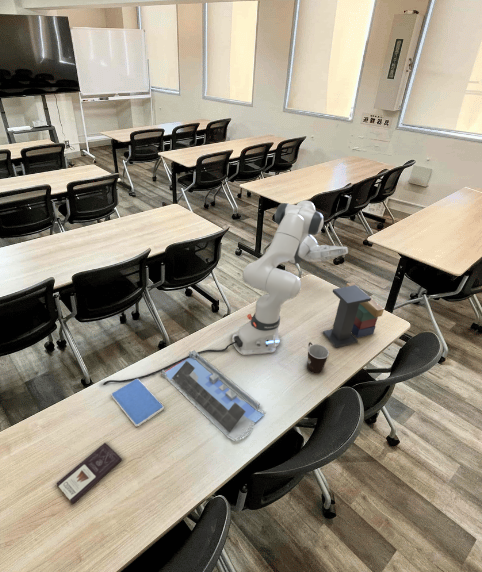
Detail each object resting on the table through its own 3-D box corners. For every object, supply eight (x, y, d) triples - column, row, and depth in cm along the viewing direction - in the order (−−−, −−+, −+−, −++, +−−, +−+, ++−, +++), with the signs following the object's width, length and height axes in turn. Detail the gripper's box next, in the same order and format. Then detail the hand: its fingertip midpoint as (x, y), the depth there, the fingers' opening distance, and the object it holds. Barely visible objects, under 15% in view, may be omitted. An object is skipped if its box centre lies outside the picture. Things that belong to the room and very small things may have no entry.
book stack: (356, 338, 172) (364, 313, 164) (338, 319, 184) (344, 295, 175) (373, 334, 175) (381, 309, 166) (354, 315, 186) (361, 292, 178)
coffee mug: (325, 377, 151) (329, 360, 146) (304, 373, 153) (307, 356, 147) (324, 357, 161) (328, 341, 155) (304, 354, 162) (308, 338, 156)
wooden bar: (375, 317, 161) (377, 310, 159) (345, 290, 179) (346, 283, 177) (381, 316, 162) (384, 309, 160) (351, 288, 180) (352, 282, 178)
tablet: (165, 408, 136) (165, 406, 136) (136, 428, 129) (136, 426, 129) (138, 379, 148) (137, 377, 147) (110, 396, 141) (109, 393, 140)
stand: (335, 348, 166) (347, 303, 151) (322, 333, 174) (332, 289, 160) (357, 343, 169) (371, 298, 155) (343, 328, 178) (355, 284, 163)
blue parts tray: (194, 354, 161) (193, 344, 158) (270, 416, 134) (272, 407, 131) (160, 374, 151) (159, 365, 147) (236, 447, 124) (237, 437, 121)
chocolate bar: (121, 458, 119) (72, 502, 107) (121, 460, 119) (73, 504, 107) (105, 442, 123) (56, 483, 112) (105, 444, 124) (57, 484, 112)
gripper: (304, 250, 190) (318, 248, 177) (337, 245, 196) (353, 243, 183) (305, 261, 191) (320, 261, 177) (338, 256, 196) (355, 255, 183)
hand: (337, 252), depth 180 cm, fingers open, 8 cm apart
